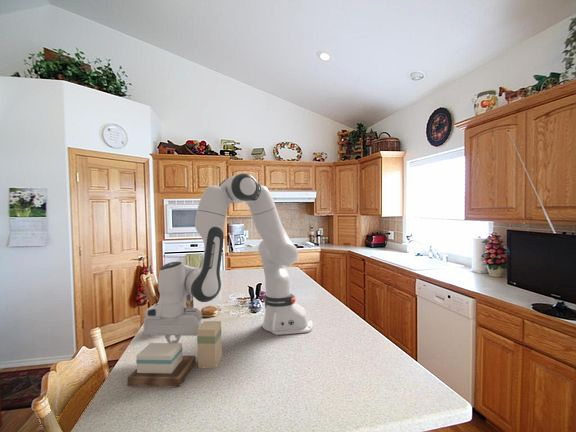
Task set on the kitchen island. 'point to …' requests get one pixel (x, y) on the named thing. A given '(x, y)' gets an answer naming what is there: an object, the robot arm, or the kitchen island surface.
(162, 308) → the robot arm
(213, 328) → the slim carton
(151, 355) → the wide carton
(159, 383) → the brown wooden tray
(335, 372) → the kitchen island surface
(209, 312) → the hamburger
